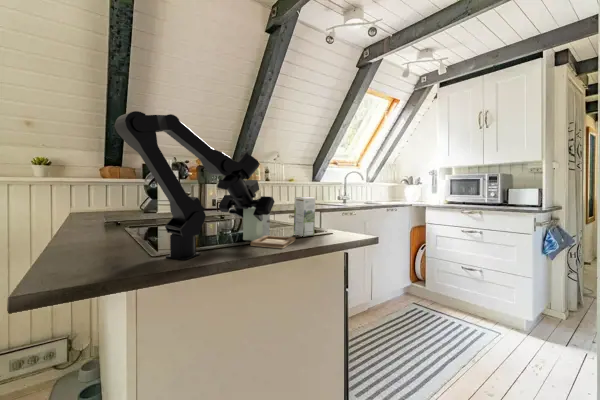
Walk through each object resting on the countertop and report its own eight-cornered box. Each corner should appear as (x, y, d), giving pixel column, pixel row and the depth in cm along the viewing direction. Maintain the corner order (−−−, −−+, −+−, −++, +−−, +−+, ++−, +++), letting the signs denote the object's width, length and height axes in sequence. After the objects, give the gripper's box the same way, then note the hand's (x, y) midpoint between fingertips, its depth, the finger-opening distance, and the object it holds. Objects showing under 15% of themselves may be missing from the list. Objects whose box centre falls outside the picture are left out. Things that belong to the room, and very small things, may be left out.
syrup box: (304, 233, 117) (305, 196, 116) (314, 235, 112) (315, 197, 111) (293, 234, 113) (293, 196, 112) (303, 237, 109) (304, 197, 108)
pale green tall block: (256, 241, 101) (256, 208, 100) (243, 239, 102) (243, 207, 101) (262, 238, 105) (262, 207, 105) (249, 237, 107) (250, 206, 106)
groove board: (283, 248, 91) (283, 244, 91) (250, 245, 94) (250, 241, 94) (295, 240, 102) (295, 237, 102) (265, 238, 106) (265, 235, 106)
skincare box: (256, 237, 107) (257, 204, 106) (249, 236, 110) (249, 203, 109) (270, 235, 111) (270, 203, 110) (263, 234, 114) (263, 202, 113)
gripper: (272, 171, 95) (286, 203, 106) (223, 171, 102) (241, 201, 113) (259, 197, 88) (276, 228, 99) (208, 195, 95) (229, 224, 106)
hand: (255, 219), depth 105 cm, fingers closed on pale green tall block, 5 cm apart
